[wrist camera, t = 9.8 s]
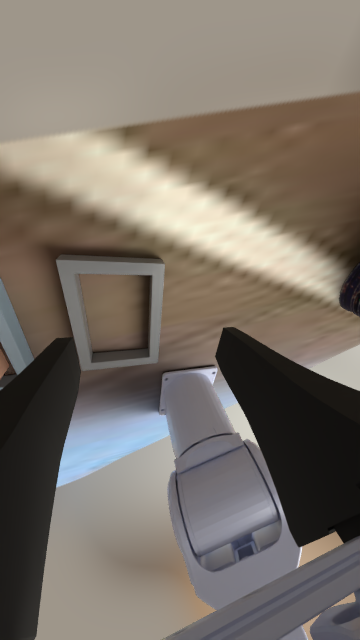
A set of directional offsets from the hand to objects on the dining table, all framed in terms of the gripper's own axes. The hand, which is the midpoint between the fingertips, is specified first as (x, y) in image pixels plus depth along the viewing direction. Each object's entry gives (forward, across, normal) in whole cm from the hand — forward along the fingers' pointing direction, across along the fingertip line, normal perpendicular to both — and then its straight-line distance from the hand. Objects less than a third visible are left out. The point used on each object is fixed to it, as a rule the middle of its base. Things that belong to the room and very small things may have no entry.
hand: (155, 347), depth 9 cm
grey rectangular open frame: (+10, +2, +4) cm, 11 cm away
